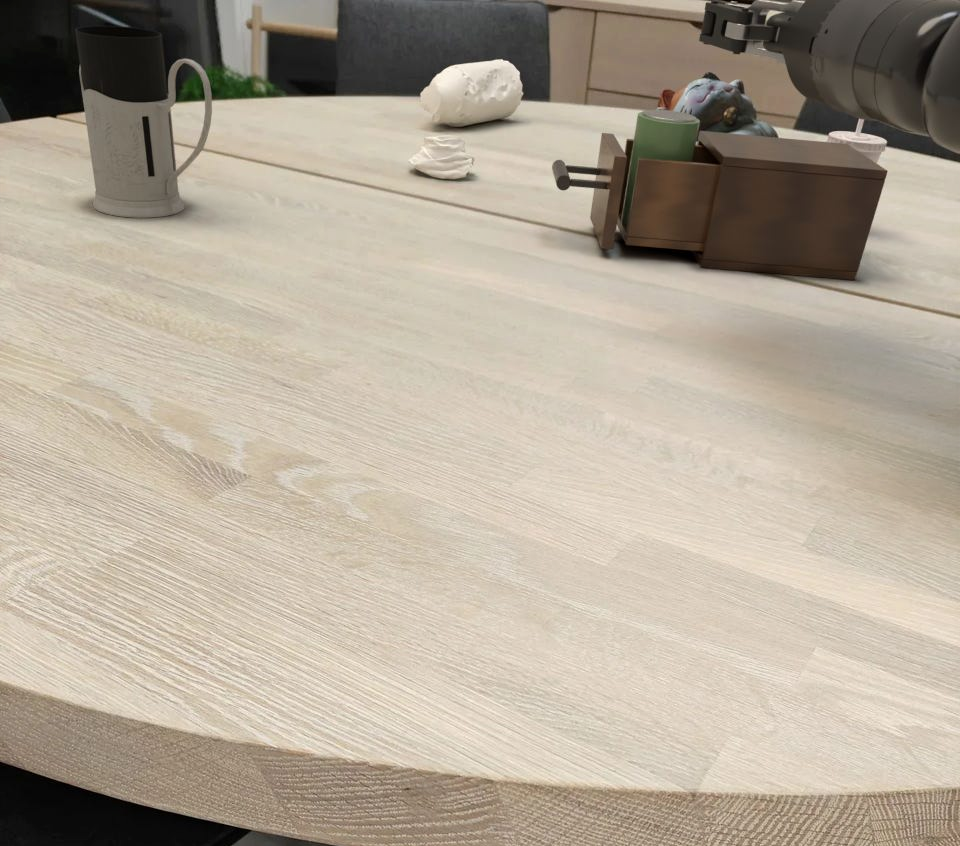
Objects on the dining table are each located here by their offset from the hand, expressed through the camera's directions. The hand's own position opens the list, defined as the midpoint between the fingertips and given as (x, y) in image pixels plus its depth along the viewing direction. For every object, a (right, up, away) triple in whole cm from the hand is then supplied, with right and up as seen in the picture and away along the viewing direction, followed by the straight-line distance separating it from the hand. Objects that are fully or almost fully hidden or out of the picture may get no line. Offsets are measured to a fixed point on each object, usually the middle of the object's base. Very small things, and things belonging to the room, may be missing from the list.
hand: (762, 20), depth 78 cm
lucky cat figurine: (+8, +12, +53) cm, 55 cm away
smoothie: (+19, -1, +38) cm, 42 cm away
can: (-5, -6, +24) cm, 25 cm away
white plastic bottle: (-23, +29, +71) cm, 80 cm away
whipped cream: (-27, +8, +44) cm, 52 cm away
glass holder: (-54, -6, +21) cm, 58 cm away
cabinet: (+7, -8, +26) cm, 28 cm away
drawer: (-6, -7, +25) cm, 26 cm away
